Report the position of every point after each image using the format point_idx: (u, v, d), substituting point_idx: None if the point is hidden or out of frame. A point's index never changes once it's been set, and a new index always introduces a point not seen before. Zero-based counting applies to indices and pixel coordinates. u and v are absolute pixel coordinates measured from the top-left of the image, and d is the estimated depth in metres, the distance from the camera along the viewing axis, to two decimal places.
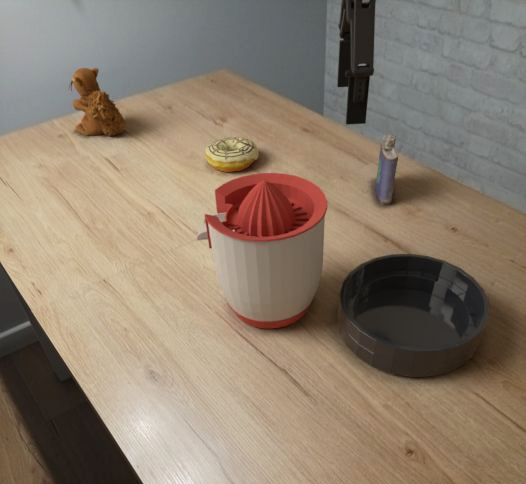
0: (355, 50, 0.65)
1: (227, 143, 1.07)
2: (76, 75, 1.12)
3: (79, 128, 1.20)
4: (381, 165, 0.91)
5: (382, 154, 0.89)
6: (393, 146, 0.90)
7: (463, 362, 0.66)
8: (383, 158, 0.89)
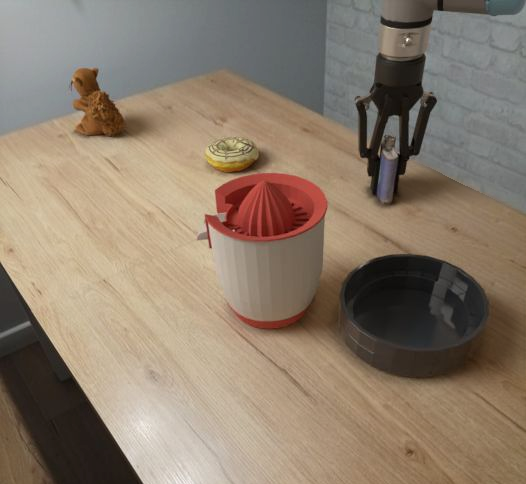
0: (422, 139, 0.88)
1: (227, 143, 1.07)
2: (76, 75, 1.12)
3: (79, 128, 1.20)
4: (381, 165, 0.91)
5: (382, 154, 0.89)
6: (393, 146, 0.90)
7: (463, 362, 0.66)
8: (383, 158, 0.89)
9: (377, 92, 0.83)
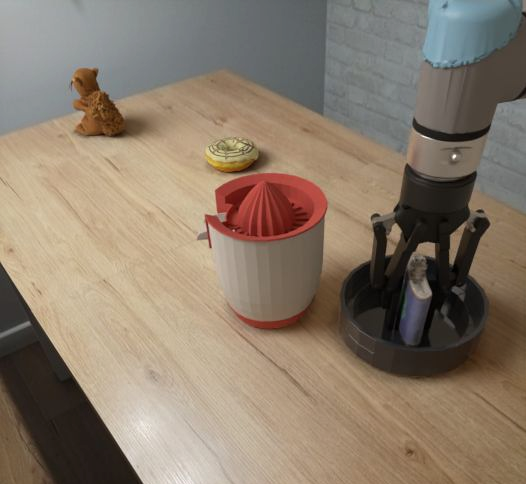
0: (469, 269, 0.64)
1: (227, 143, 1.07)
2: (76, 75, 1.12)
3: (79, 128, 1.20)
4: (408, 300, 0.66)
5: (409, 288, 0.65)
6: (424, 275, 0.65)
7: (463, 362, 0.66)
8: (411, 293, 0.64)
9: (404, 215, 0.58)
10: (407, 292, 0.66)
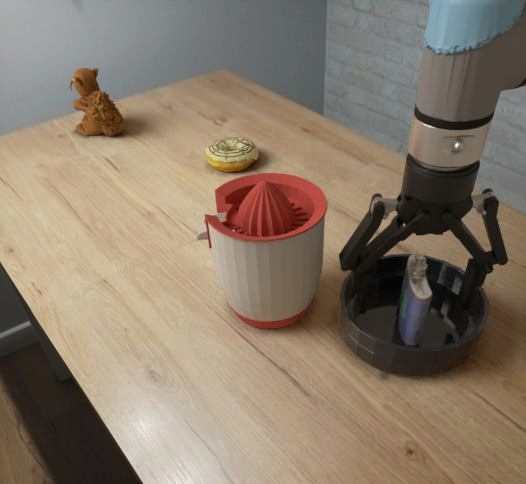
0: (503, 245, 0.61)
1: (227, 143, 1.07)
2: (76, 75, 1.12)
3: (79, 128, 1.20)
4: (408, 300, 0.66)
5: (409, 288, 0.65)
6: (424, 275, 0.65)
7: (463, 362, 0.66)
8: (411, 293, 0.64)
9: (406, 206, 0.57)
10: (407, 292, 0.66)
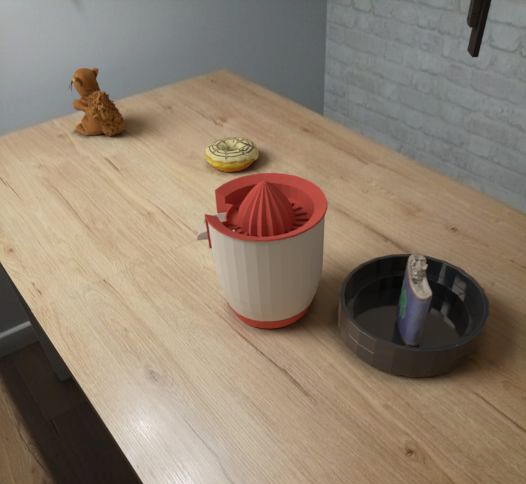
0: None
1: (227, 143, 1.07)
2: (76, 75, 1.12)
3: (79, 128, 1.20)
4: (408, 300, 0.66)
5: (409, 288, 0.65)
6: (424, 275, 0.65)
7: (463, 362, 0.66)
8: (411, 293, 0.64)
9: None
10: (407, 292, 0.66)
